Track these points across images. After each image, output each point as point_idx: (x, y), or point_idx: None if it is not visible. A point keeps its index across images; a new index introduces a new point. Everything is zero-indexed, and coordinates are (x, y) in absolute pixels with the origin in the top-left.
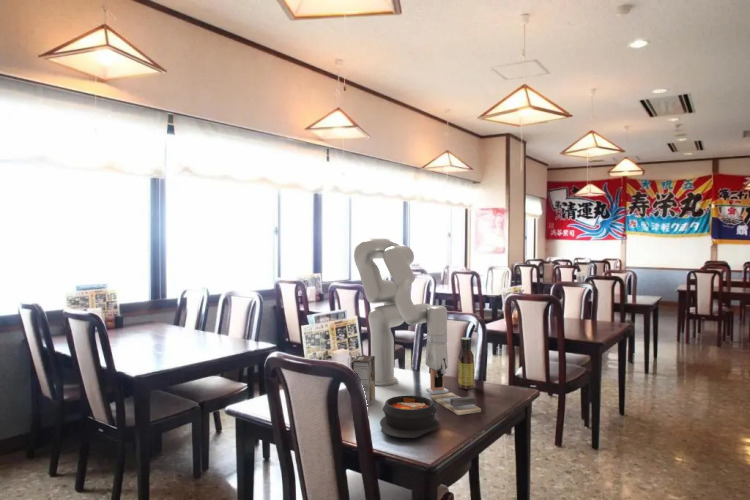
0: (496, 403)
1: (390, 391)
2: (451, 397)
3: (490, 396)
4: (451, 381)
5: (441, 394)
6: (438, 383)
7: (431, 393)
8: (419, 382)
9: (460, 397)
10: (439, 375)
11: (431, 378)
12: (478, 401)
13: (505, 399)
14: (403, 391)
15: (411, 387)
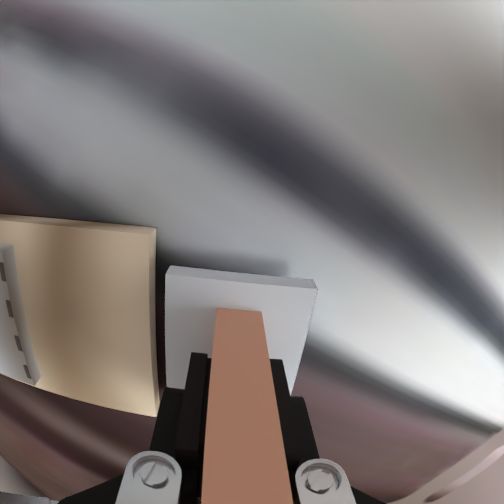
0: (11, 440)
1: (482, 53)
2: (1, 325)
3: None
4: (387, 477)
5: (139, 338)
6: (161, 404)
7: (182, 268)
8: (498, 349)
9: (2, 369)
10: (98, 487)
11: (239, 408)
12: (32, 421)
13: (56, 483)
14: (453, 128)
15: (485, 252)
